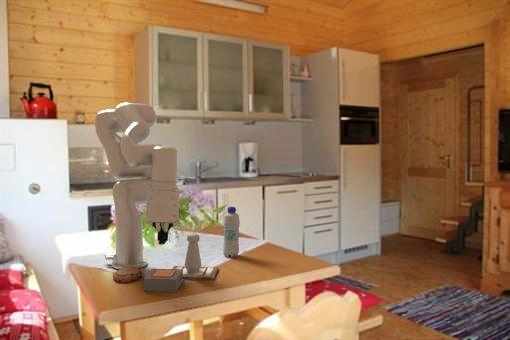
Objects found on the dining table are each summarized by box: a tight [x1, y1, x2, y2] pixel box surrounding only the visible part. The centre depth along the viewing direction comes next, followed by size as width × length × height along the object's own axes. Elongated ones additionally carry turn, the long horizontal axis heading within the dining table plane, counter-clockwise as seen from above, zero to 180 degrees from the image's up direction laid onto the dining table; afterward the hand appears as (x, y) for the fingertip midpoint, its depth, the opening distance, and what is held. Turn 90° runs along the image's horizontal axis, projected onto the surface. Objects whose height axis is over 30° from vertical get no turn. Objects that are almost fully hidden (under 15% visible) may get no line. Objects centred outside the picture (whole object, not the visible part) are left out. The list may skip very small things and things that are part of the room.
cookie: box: [112, 267, 144, 284], centre depth 146 cm, size 10×11×3 cm
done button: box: [152, 270, 176, 277], centre depth 138 cm, size 6×6×3 cm
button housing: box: [143, 268, 184, 293], centre depth 138 cm, size 10×10×4 cm
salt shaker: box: [184, 233, 202, 273], centre depth 150 cm, size 6×6×13 cm
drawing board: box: [171, 265, 219, 281], centre depth 151 cm, size 16×12×1 cm
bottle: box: [222, 206, 241, 258], centre depth 174 cm, size 7×7×20 cm
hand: (162, 242), depth 138 cm, fingers closed
